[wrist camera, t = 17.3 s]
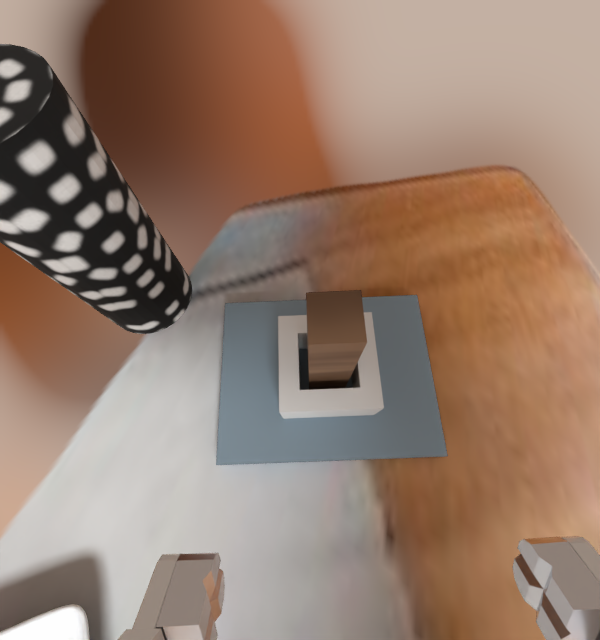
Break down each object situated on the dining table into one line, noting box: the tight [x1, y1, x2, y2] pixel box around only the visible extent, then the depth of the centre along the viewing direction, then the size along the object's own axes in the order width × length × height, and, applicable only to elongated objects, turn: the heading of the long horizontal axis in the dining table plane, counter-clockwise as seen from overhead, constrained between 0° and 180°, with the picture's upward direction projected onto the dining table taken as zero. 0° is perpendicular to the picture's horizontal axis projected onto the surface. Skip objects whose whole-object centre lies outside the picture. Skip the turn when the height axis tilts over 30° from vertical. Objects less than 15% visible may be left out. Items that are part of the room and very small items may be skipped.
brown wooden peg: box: [306, 290, 367, 390], centre depth 23 cm, size 3×3×12 cm
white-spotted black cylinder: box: [0, 44, 192, 334], centre depth 25 cm, size 8×8×20 cm
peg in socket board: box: [216, 295, 448, 465], centre depth 28 cm, size 14×18×6 cm
